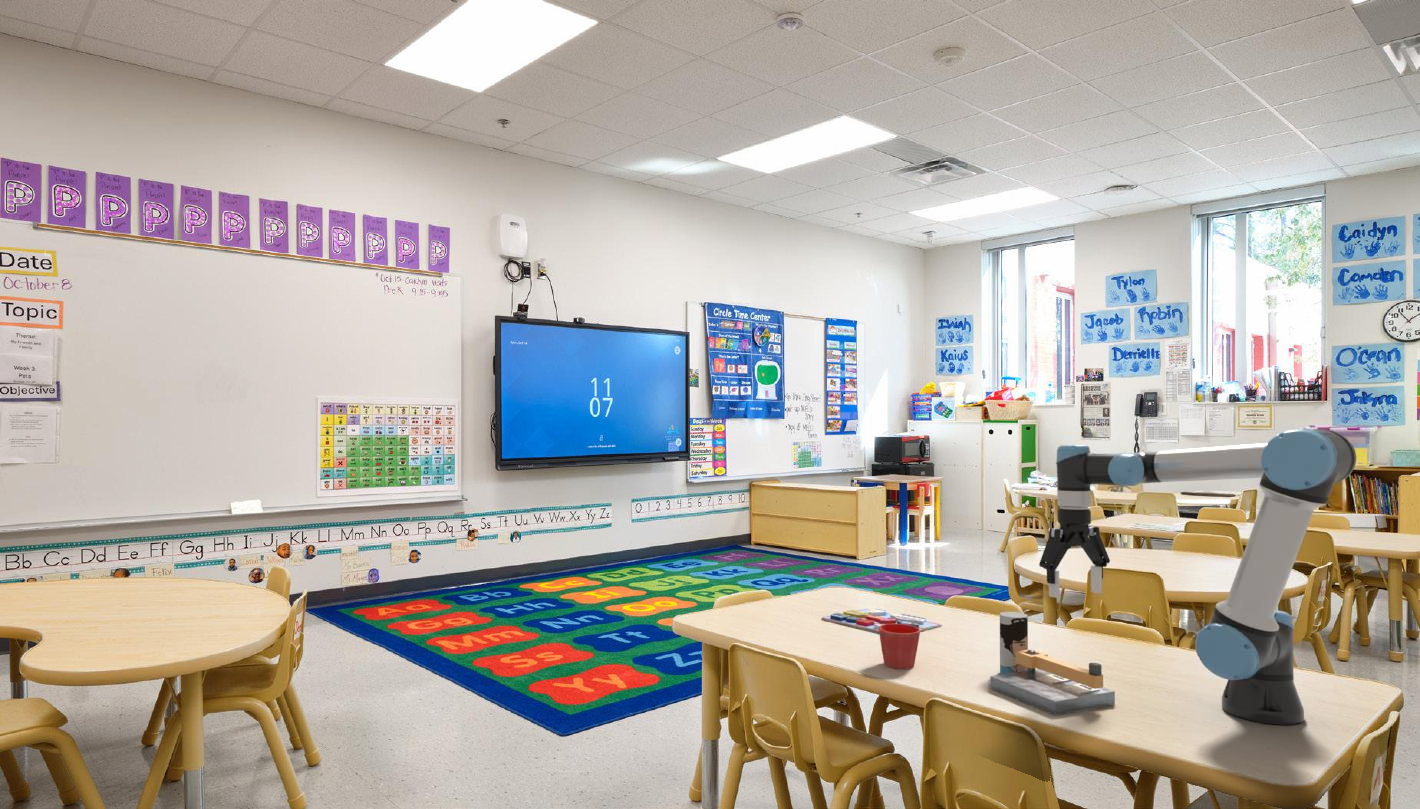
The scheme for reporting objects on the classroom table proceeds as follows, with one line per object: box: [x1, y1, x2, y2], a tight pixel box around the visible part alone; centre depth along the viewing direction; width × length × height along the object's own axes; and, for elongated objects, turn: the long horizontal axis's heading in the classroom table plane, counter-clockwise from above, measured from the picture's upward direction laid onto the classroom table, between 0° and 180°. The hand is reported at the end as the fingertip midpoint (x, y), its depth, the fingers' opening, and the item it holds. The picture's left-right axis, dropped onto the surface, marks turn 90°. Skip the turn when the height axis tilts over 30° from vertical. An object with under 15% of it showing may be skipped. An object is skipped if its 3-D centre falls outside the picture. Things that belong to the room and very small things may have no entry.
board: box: [989, 649, 1116, 716], centre depth 196 cm, size 20×18×8 cm
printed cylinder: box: [999, 611, 1029, 675], centre depth 213 cm, size 7×7×15 cm
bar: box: [1015, 648, 1104, 689], centre depth 197 cm, size 23×5×5 cm, turn 24°
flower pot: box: [878, 624, 921, 670], centre depth 221 cm, size 11×11×10 cm
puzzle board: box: [821, 608, 943, 634], centre depth 268 cm, size 30×23×3 cm
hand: (1075, 594), depth 205 cm, fingers open, 13 cm apart
